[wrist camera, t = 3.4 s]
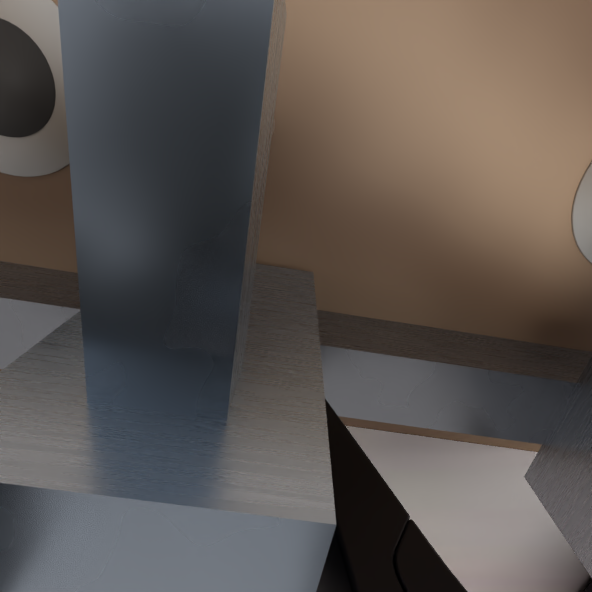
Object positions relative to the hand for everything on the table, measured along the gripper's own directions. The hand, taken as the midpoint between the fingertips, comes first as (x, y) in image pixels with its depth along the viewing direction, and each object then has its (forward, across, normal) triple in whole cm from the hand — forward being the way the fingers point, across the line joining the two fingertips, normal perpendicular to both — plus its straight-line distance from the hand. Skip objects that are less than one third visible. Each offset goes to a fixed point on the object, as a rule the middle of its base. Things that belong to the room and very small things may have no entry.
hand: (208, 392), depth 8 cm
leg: (+3, 0, -2) cm, 3 cm away
